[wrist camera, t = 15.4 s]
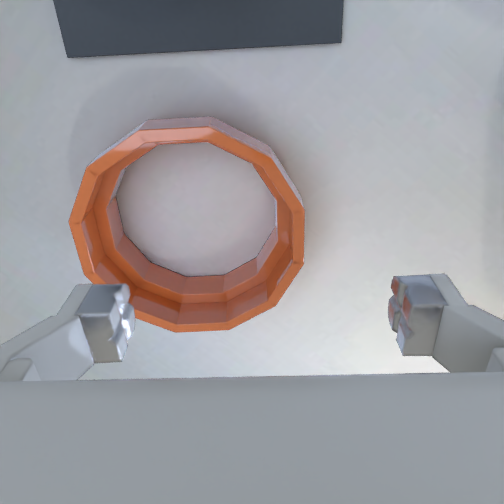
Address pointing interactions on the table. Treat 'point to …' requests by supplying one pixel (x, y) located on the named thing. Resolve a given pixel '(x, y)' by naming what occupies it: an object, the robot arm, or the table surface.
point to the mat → (194, 25)
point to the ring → (168, 282)
